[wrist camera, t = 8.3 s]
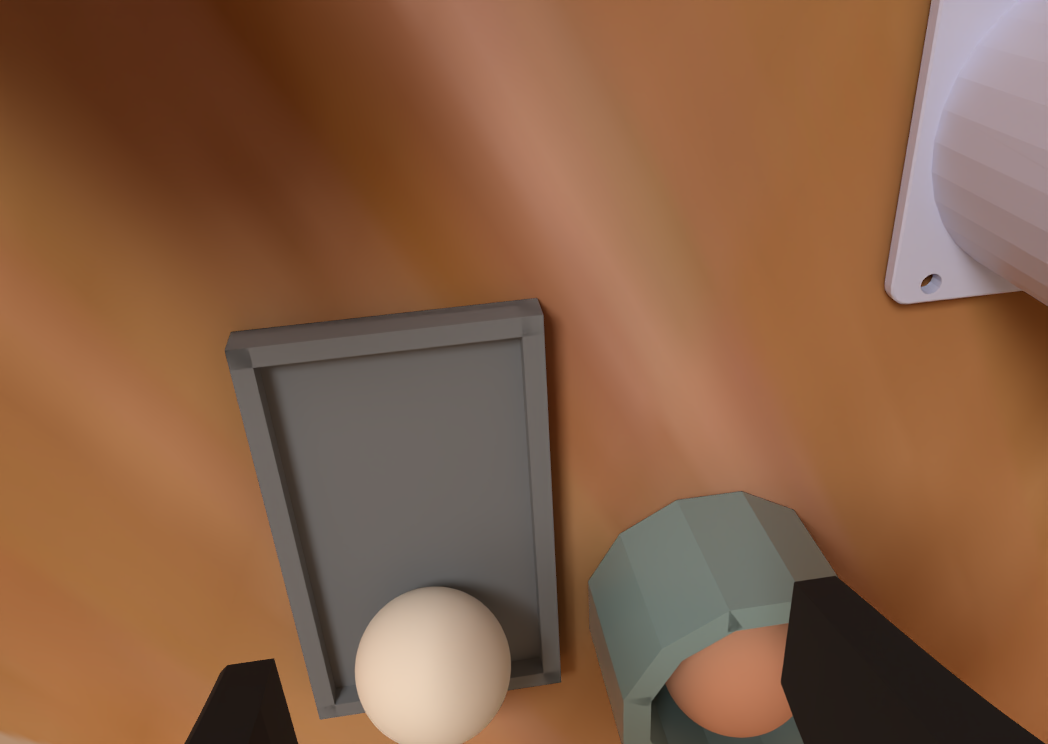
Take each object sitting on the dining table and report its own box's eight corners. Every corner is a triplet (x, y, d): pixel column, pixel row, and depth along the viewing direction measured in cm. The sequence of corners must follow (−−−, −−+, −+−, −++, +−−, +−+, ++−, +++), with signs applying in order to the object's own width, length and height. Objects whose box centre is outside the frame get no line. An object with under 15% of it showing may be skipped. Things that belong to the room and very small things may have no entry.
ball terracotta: (740, 527, 24) (804, 636, 20) (795, 608, 26) (861, 720, 22) (617, 599, 24) (659, 717, 21) (679, 673, 26) (727, 792, 23)
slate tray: (537, 297, 20) (543, 314, 19) (555, 658, 26) (561, 682, 25) (230, 332, 20) (224, 350, 19) (321, 694, 25) (319, 719, 25)
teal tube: (828, 479, 24) (907, 584, 21) (802, 653, 28) (866, 769, 24) (586, 512, 24) (623, 626, 20) (590, 686, 27) (622, 810, 23)
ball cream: (496, 545, 23) (516, 660, 20) (505, 649, 25) (525, 771, 22) (345, 565, 23) (339, 687, 19) (368, 670, 25) (365, 797, 21)
